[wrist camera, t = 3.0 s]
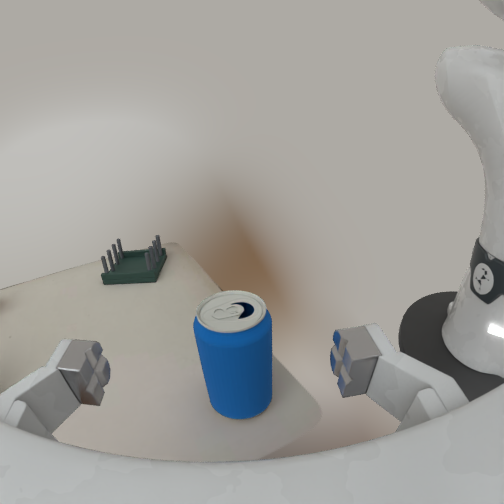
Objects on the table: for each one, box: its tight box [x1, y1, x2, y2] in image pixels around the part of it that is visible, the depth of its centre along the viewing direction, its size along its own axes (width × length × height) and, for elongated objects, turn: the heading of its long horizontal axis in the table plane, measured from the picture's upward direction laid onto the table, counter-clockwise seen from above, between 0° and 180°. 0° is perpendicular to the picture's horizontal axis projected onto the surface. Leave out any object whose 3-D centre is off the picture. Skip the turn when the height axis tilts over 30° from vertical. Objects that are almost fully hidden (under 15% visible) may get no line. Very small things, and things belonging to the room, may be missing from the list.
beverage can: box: [193, 291, 272, 419], centre depth 25 cm, size 6×6×12 cm
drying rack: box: [101, 235, 167, 285], centre depth 55 cm, size 11×11×6 cm
